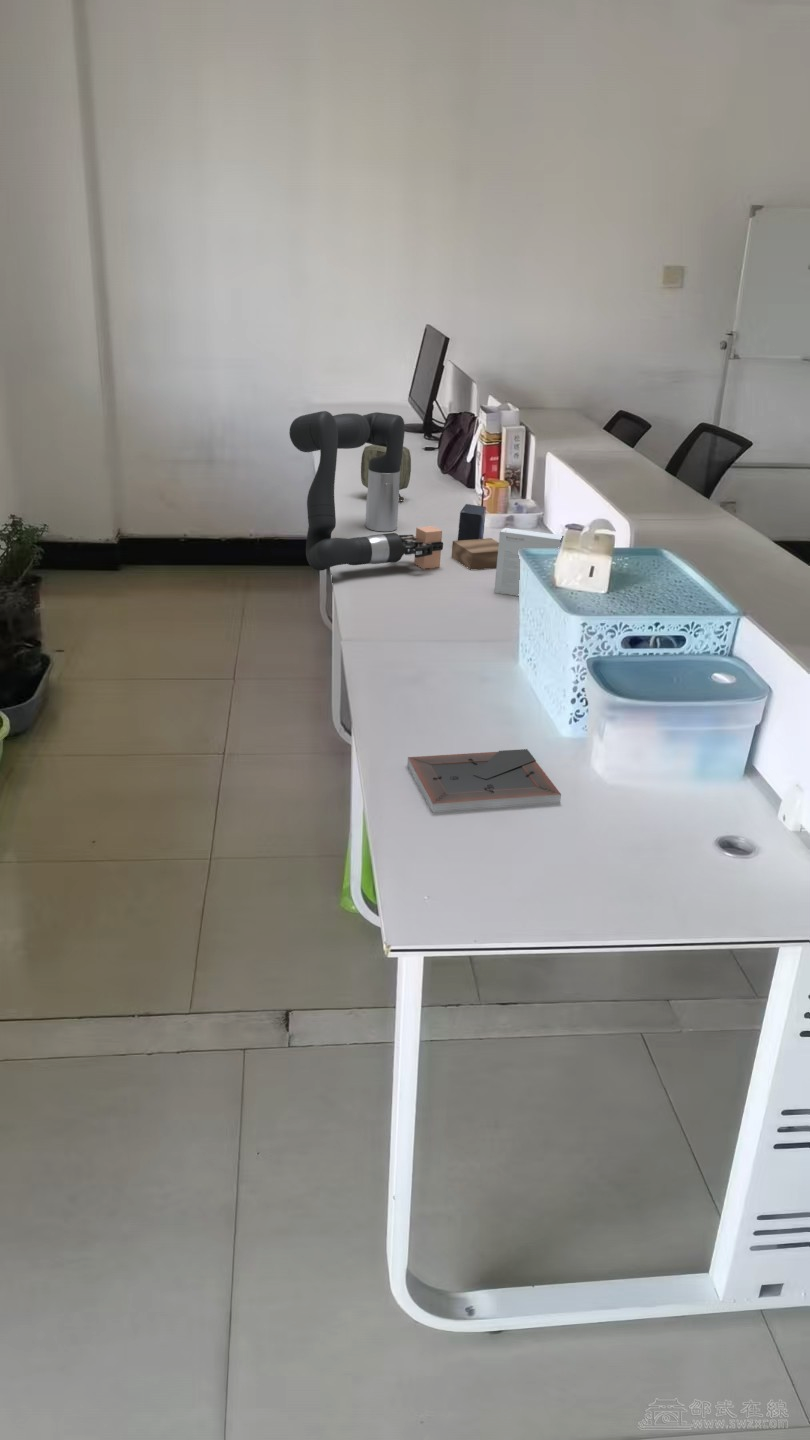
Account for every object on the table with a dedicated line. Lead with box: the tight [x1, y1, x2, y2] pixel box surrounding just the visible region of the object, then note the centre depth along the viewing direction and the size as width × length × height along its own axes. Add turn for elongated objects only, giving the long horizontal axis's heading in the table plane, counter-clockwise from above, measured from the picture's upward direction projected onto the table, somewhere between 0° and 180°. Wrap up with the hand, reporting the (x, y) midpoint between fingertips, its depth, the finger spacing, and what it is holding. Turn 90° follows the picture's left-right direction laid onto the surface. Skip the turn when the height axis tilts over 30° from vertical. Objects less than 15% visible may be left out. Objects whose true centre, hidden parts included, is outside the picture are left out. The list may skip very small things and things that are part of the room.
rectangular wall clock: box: [406, 748, 562, 813], centre depth 184 cm, size 16×2×22 cm
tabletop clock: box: [360, 444, 412, 500], centre depth 355 cm, size 14×9×25 cm, turn 58°
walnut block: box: [451, 537, 499, 570], centre depth 302 cm, size 12×12×5 cm
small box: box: [457, 503, 487, 541], centre depth 316 cm, size 11×6×10 cm, turn 168°
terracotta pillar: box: [413, 525, 443, 570], centre depth 294 cm, size 5×5×10 cm
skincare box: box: [493, 527, 564, 597], centre depth 275 cm, size 21×5×16 cm, turn 71°
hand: (436, 542), depth 295 cm, fingers closed on terracotta pillar, 5 cm apart
